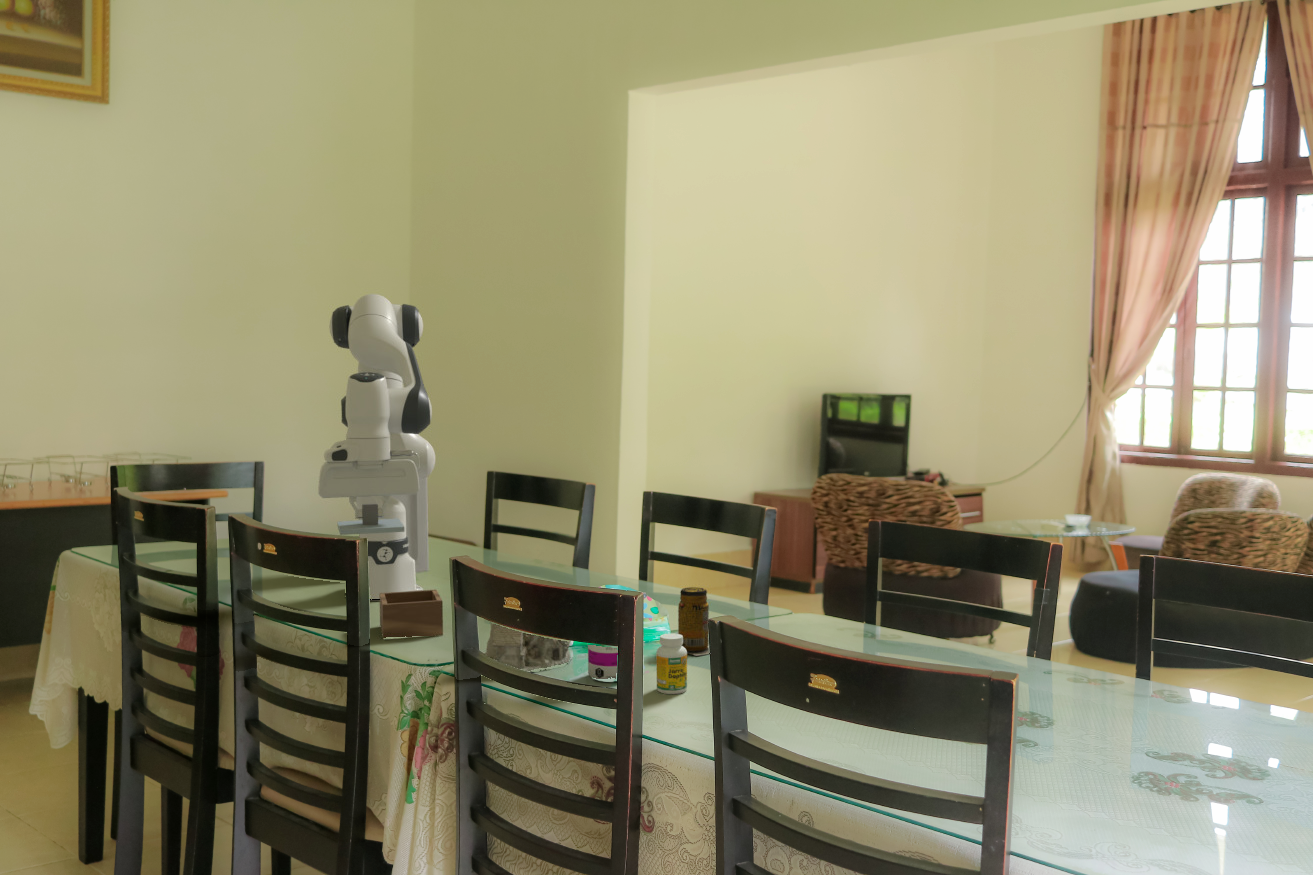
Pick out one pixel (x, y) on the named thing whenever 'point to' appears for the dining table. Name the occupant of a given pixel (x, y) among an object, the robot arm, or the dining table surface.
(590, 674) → the supplement can
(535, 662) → the ceramic cottage
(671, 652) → the supplement bottle
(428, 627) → the box
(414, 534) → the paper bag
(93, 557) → the dining table surface
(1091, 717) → the dining table surface
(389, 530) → the lid
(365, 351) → the robot arm
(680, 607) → the condiment
